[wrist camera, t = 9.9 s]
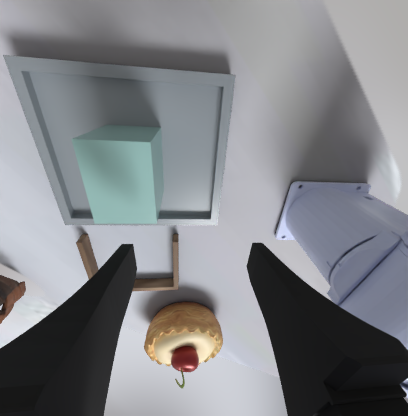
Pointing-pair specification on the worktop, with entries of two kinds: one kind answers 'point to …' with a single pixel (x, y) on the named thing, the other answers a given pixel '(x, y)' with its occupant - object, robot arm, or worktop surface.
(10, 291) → the brown piece
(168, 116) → the grey tray
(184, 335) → the pastry
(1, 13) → the worktop surface
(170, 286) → the dark bent strip
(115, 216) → the teal block
